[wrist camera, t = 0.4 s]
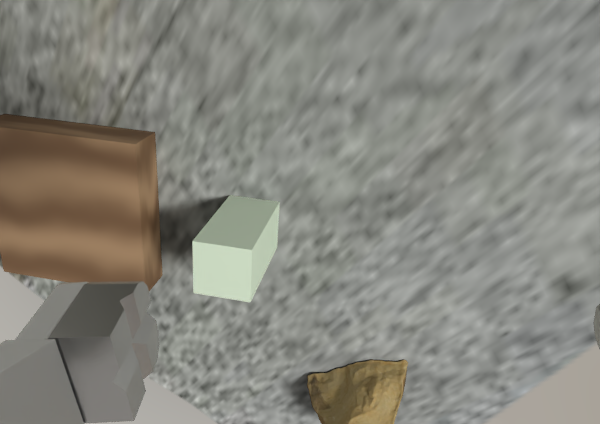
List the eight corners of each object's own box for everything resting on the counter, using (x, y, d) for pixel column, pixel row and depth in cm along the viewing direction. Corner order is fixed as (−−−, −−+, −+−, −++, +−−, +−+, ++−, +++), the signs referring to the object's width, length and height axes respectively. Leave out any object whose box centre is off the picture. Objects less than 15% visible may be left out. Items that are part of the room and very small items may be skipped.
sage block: (229, 195, 52) (192, 241, 43) (279, 201, 51) (251, 250, 42) (229, 240, 54) (193, 292, 45) (277, 247, 53) (250, 302, 44)
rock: (290, 417, 59) (374, 457, 57) (281, 429, 51) (378, 477, 49) (328, 326, 61) (410, 362, 59) (324, 324, 53) (420, 366, 51)
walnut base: (4, 113, 53) (-25, 124, 49) (154, 132, 51) (135, 144, 47) (28, 253, 60) (3, 271, 56) (162, 275, 57) (145, 295, 54)
